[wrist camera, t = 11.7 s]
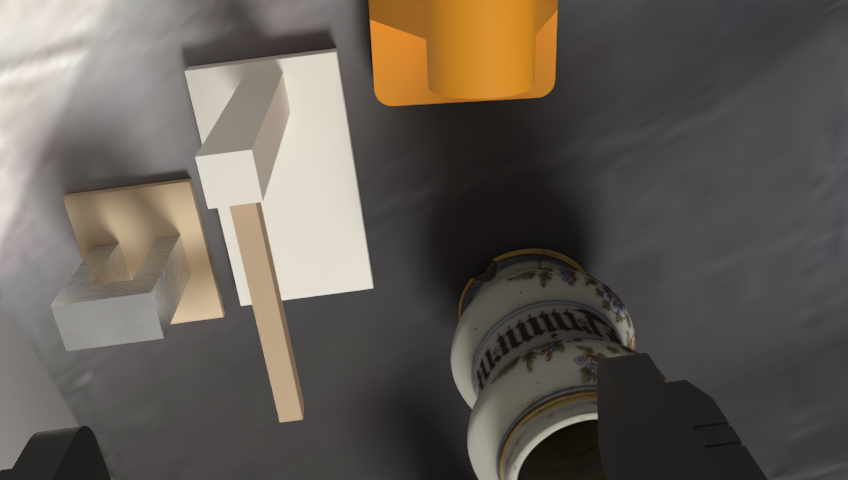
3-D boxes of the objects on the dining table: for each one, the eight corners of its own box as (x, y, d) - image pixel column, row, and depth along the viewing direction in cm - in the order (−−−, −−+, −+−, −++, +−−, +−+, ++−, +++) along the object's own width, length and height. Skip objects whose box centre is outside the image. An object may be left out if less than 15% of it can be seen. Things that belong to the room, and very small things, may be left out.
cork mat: (65, 194, 50) (62, 197, 49) (191, 178, 50) (189, 181, 49) (109, 327, 54) (107, 332, 53) (224, 312, 54) (223, 317, 54)
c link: (94, 245, 51) (50, 306, 43) (180, 234, 51) (150, 292, 44) (107, 285, 52) (66, 351, 45) (191, 274, 52) (164, 338, 45)
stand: (188, 66, 47) (111, 148, 33) (336, 47, 47) (326, 121, 33) (243, 297, 54) (200, 450, 39) (372, 280, 54) (377, 426, 39)
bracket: (374, 95, 49) (379, 157, 38) (366, -26, 46) (369, 2, 35) (544, 86, 49) (597, 143, 38) (548, -35, 46) (606, -10, 35)
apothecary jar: (523, 199, 52) (596, 343, 36) (643, 296, 56) (759, 466, 40) (407, 322, 56) (427, 505, 39) (528, 406, 59) (592, 604, 43)
